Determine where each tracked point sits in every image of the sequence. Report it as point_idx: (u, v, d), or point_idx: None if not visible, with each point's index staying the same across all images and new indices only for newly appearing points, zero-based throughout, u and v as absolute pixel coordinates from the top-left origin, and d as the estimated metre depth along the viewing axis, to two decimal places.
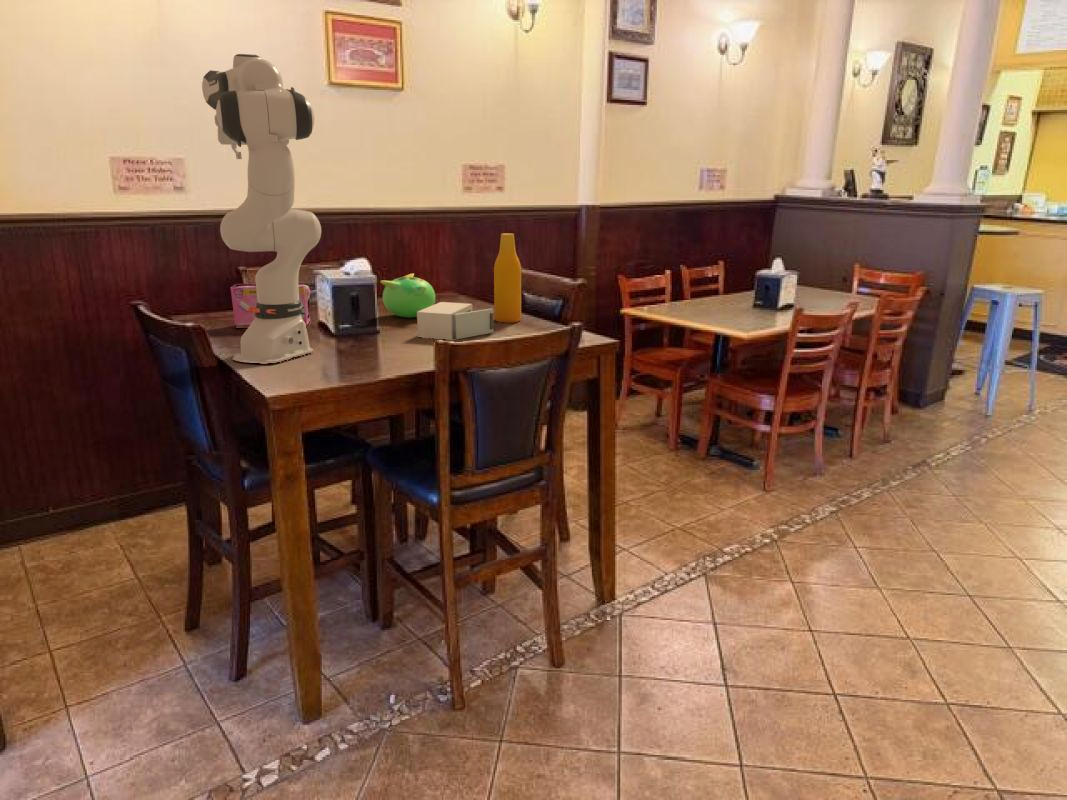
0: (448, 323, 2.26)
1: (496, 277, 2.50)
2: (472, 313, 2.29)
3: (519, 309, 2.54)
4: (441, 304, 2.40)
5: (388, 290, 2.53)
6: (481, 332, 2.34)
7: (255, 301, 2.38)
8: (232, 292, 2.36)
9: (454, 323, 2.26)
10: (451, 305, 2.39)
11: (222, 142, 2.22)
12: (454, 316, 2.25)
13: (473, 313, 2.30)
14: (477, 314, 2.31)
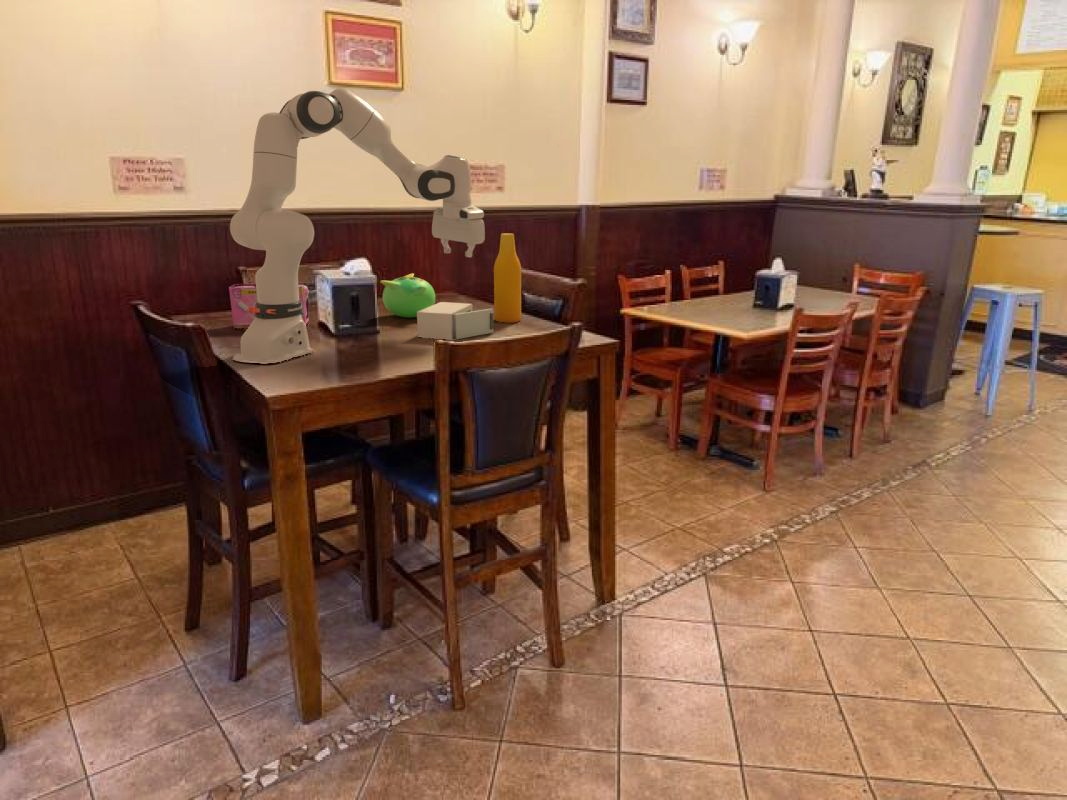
0: (448, 323, 2.26)
1: (496, 277, 2.50)
2: (472, 313, 2.29)
3: (519, 309, 2.54)
4: (441, 304, 2.40)
5: (388, 290, 2.53)
6: (481, 332, 2.34)
7: (253, 301, 2.38)
8: (230, 292, 2.36)
9: (454, 323, 2.26)
10: (451, 305, 2.39)
11: (433, 235, 2.40)
12: (454, 316, 2.25)
13: (473, 313, 2.30)
14: (477, 314, 2.31)
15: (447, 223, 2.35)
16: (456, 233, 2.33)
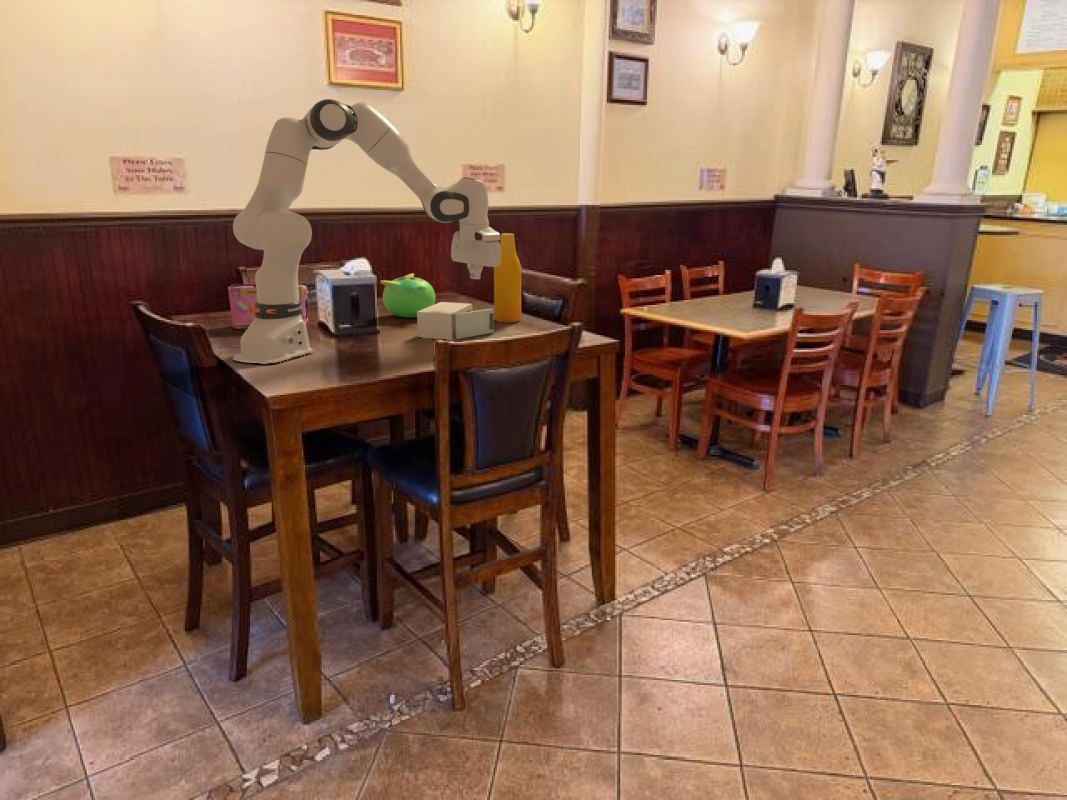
0: (448, 323, 2.26)
1: (496, 277, 2.50)
2: (472, 313, 2.29)
3: (519, 309, 2.54)
4: (441, 304, 2.40)
5: (388, 290, 2.53)
6: (481, 332, 2.34)
7: (252, 301, 2.37)
8: (229, 292, 2.36)
9: (454, 323, 2.26)
10: (451, 305, 2.39)
11: (452, 258, 2.35)
12: (454, 316, 2.25)
13: (473, 313, 2.30)
14: (477, 314, 2.31)
15: (464, 246, 2.30)
16: (472, 256, 2.28)
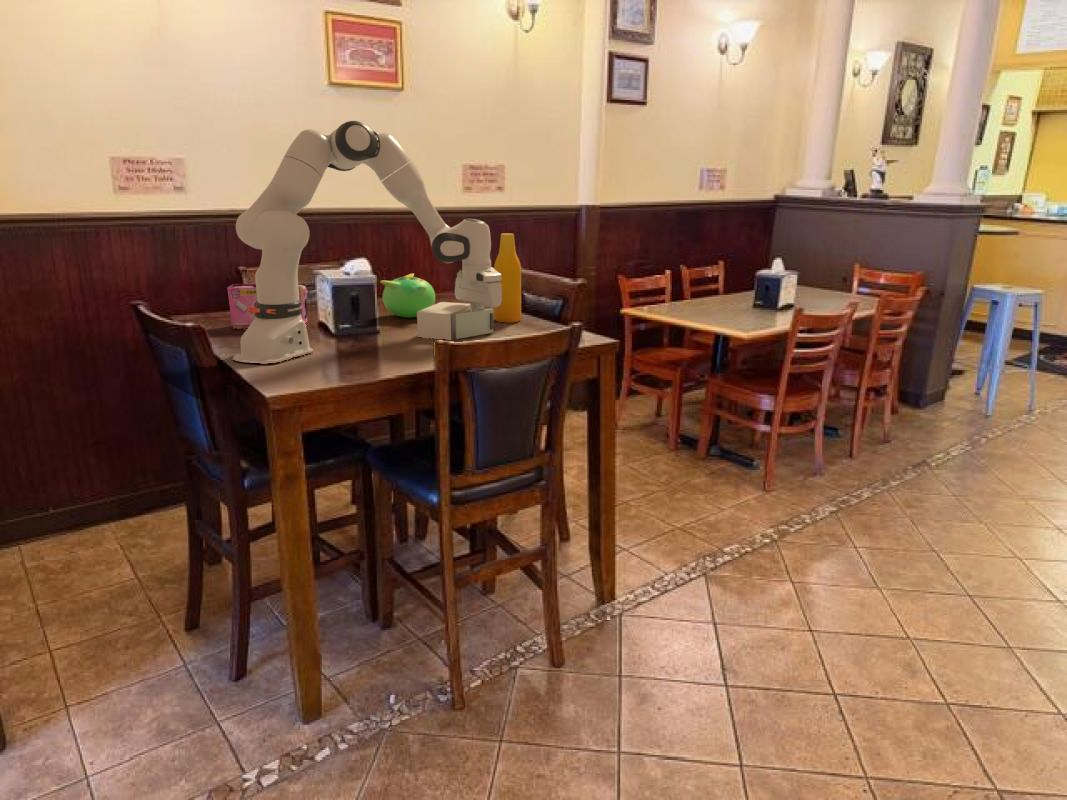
0: (448, 323, 2.26)
1: None
2: (472, 313, 2.29)
3: (519, 309, 2.54)
4: (441, 304, 2.40)
5: (388, 290, 2.53)
6: (481, 332, 2.34)
7: (252, 301, 2.37)
8: (229, 292, 2.36)
9: (454, 323, 2.26)
10: (451, 305, 2.39)
11: (456, 296, 2.39)
12: (454, 316, 2.25)
13: (473, 313, 2.30)
14: (477, 314, 2.31)
15: (467, 285, 2.33)
16: (475, 296, 2.31)
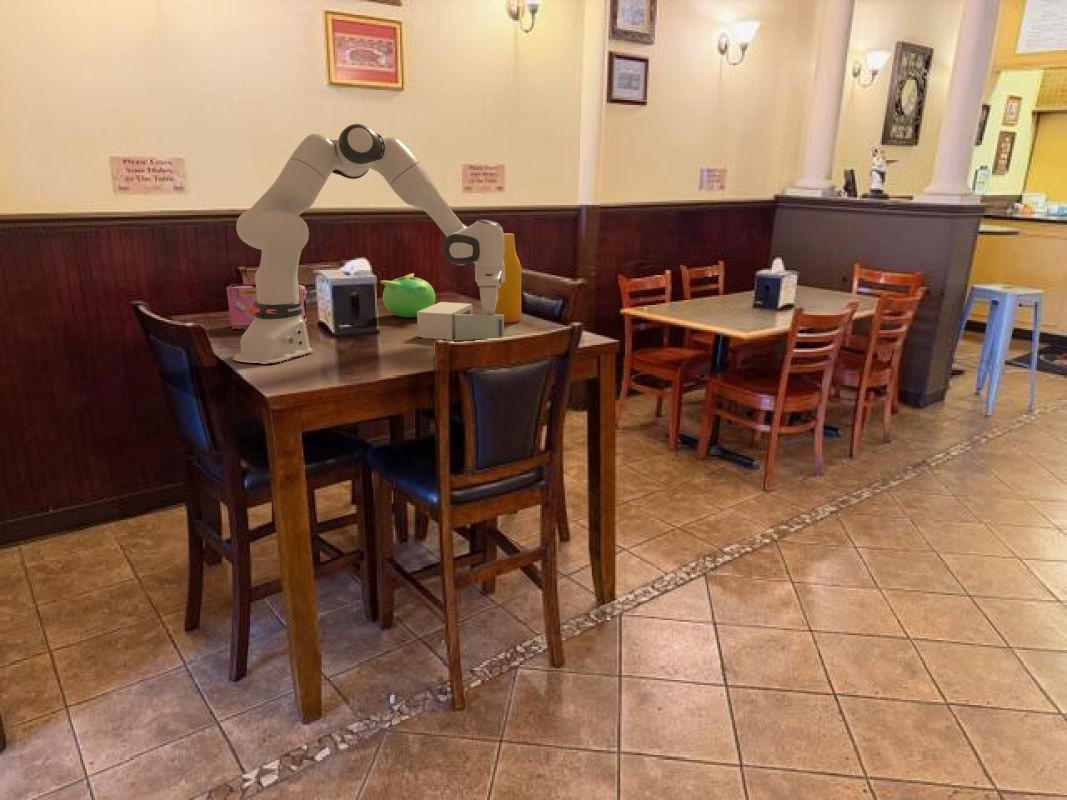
0: (448, 323, 2.26)
1: None
2: (476, 316, 2.25)
3: (519, 309, 2.54)
4: (441, 304, 2.40)
5: (388, 290, 2.53)
6: (487, 337, 2.27)
7: (251, 301, 2.37)
8: (228, 292, 2.36)
9: (453, 323, 2.26)
10: (451, 305, 2.39)
11: None
12: (453, 316, 2.25)
13: (477, 316, 2.25)
14: (482, 318, 2.25)
15: None
16: None
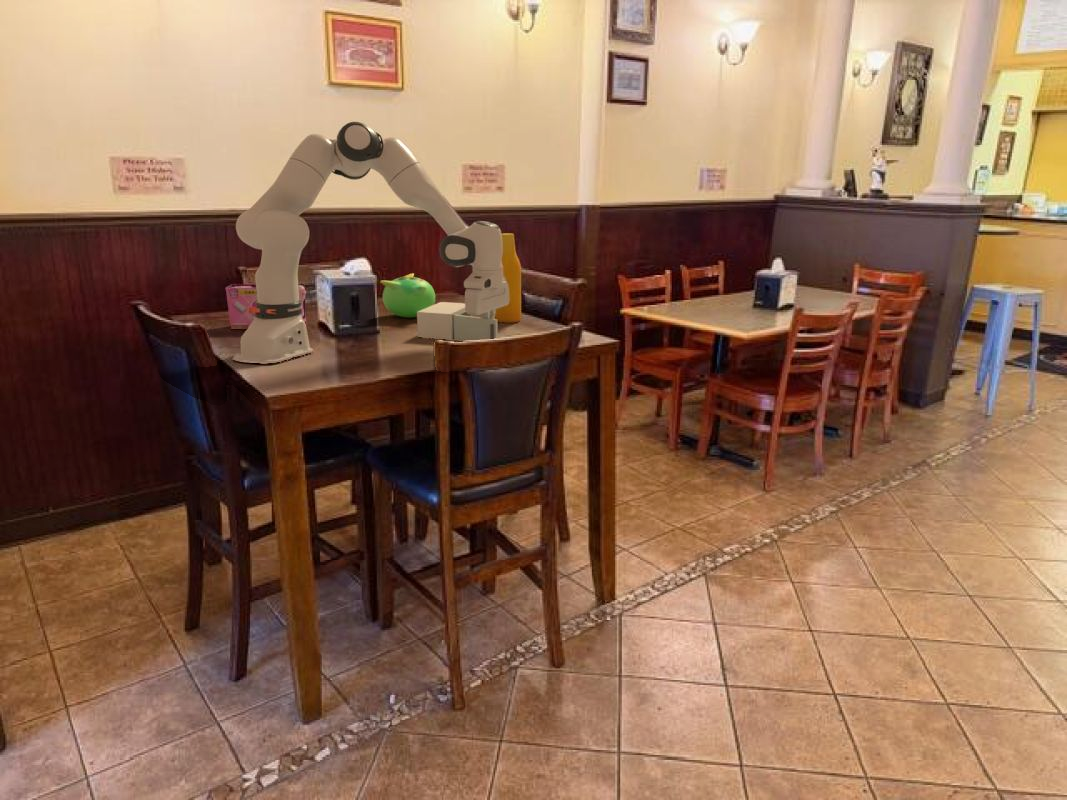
0: (448, 323, 2.26)
1: None
2: (471, 318, 2.22)
3: (519, 309, 2.54)
4: (441, 304, 2.40)
5: (388, 290, 2.53)
6: None
7: (250, 301, 2.37)
8: (227, 292, 2.36)
9: (452, 323, 2.26)
10: (451, 305, 2.39)
11: None
12: (452, 316, 2.25)
13: (472, 318, 2.22)
14: (476, 320, 2.21)
15: None
16: None
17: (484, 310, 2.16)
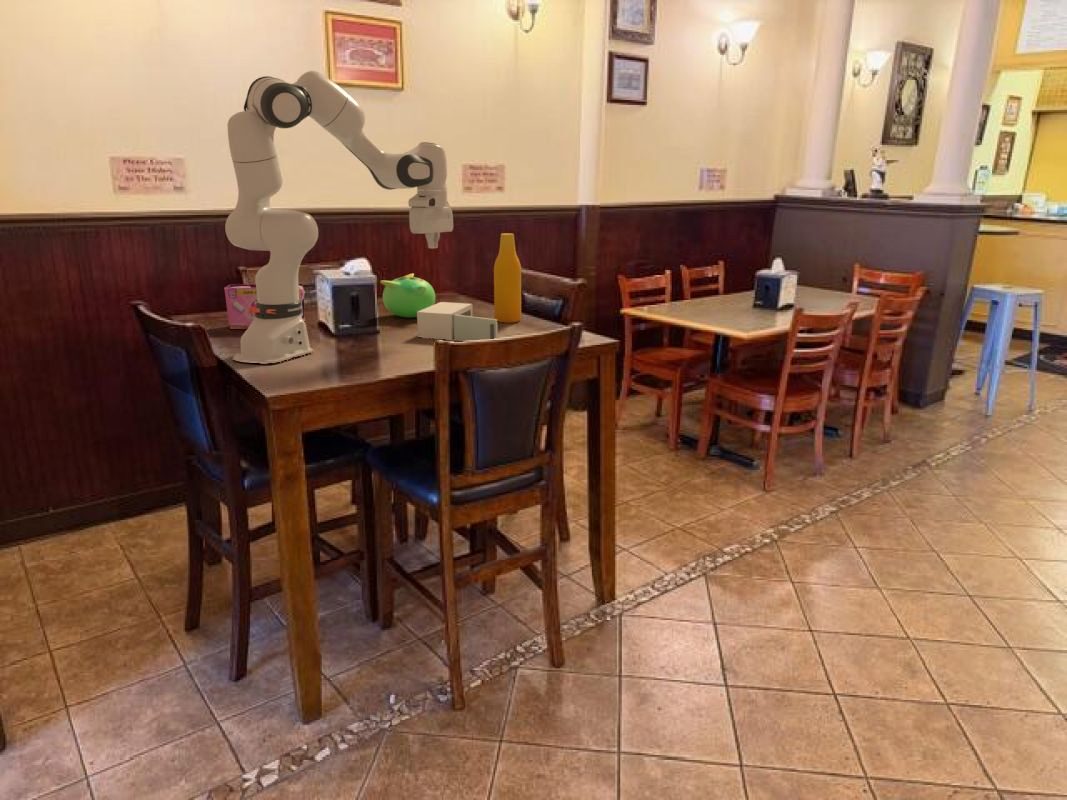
0: (448, 323, 2.26)
1: (496, 277, 2.50)
2: (471, 318, 2.22)
3: (519, 309, 2.54)
4: (441, 304, 2.40)
5: (388, 290, 2.53)
6: None
7: (249, 302, 2.37)
8: (226, 292, 2.35)
9: (452, 323, 2.26)
10: (451, 305, 2.39)
11: None
12: (452, 316, 2.25)
13: (472, 318, 2.22)
14: (476, 320, 2.21)
15: None
16: None
17: (428, 230, 2.19)
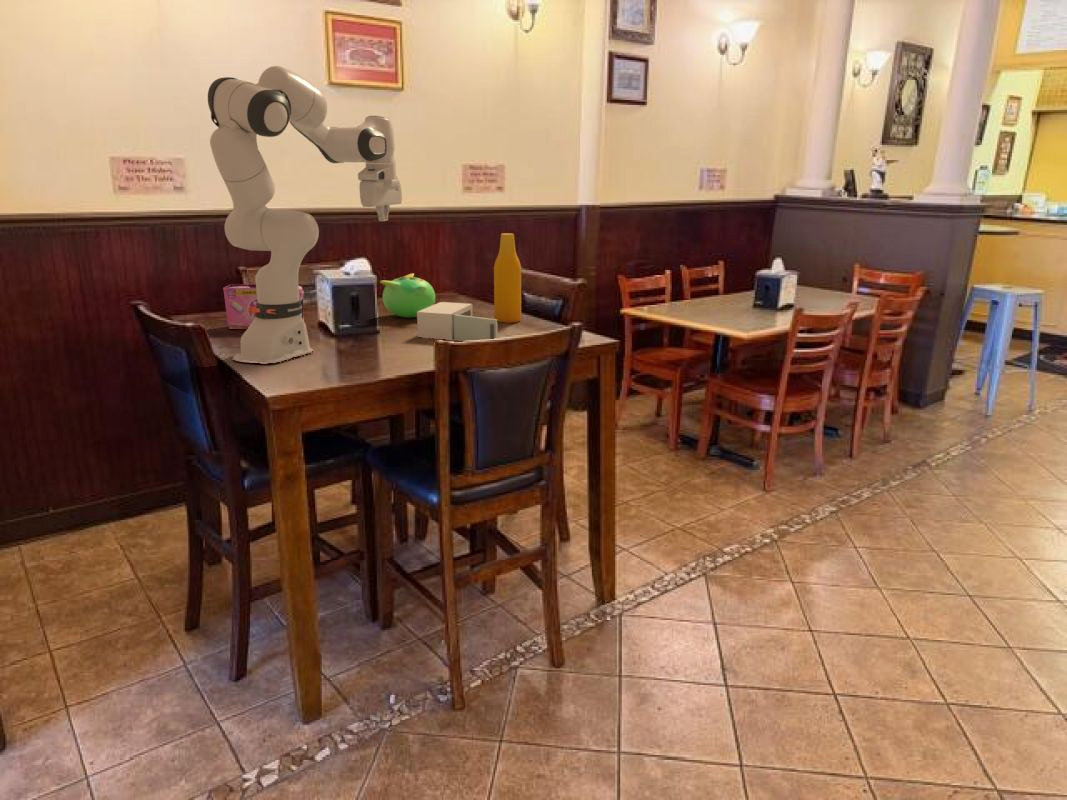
0: (448, 323, 2.26)
1: (496, 277, 2.50)
2: (471, 318, 2.22)
3: (519, 309, 2.54)
4: (441, 304, 2.40)
5: (388, 290, 2.53)
6: None
7: (248, 302, 2.37)
8: (225, 292, 2.35)
9: (452, 323, 2.26)
10: (451, 305, 2.39)
11: None
12: (452, 316, 2.25)
13: (472, 318, 2.22)
14: (476, 320, 2.21)
15: None
16: None
17: (379, 203, 2.23)
